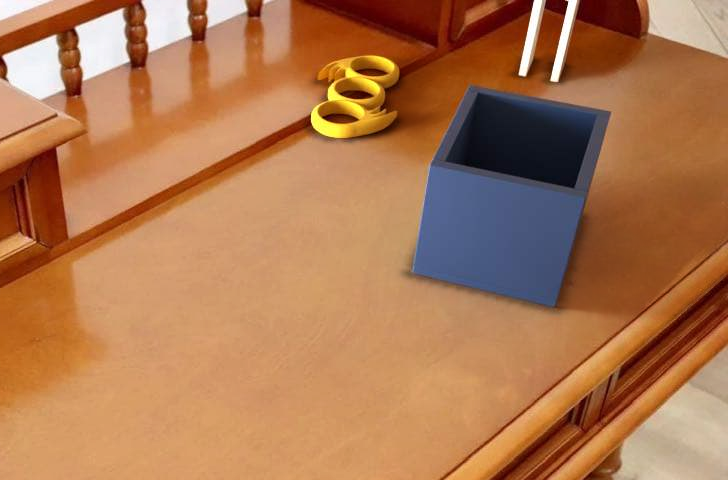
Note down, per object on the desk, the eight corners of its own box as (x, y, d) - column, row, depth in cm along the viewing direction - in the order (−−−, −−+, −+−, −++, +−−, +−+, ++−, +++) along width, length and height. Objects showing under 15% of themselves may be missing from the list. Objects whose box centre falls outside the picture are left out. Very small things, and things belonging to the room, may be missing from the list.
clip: (525, 59, 122) (544, -29, 115) (563, 66, 120) (585, -23, 114) (518, 75, 119) (537, -14, 112) (557, 82, 118) (579, -8, 111)
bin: (450, 189, 103) (469, 84, 96) (581, 217, 99) (611, 111, 92) (412, 273, 93) (429, 164, 86) (555, 308, 90) (586, 197, 83)
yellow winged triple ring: (423, 75, 119) (335, 58, 122) (425, 62, 118) (336, 45, 121) (378, 150, 108) (283, 129, 111) (380, 136, 107) (284, 116, 110)
